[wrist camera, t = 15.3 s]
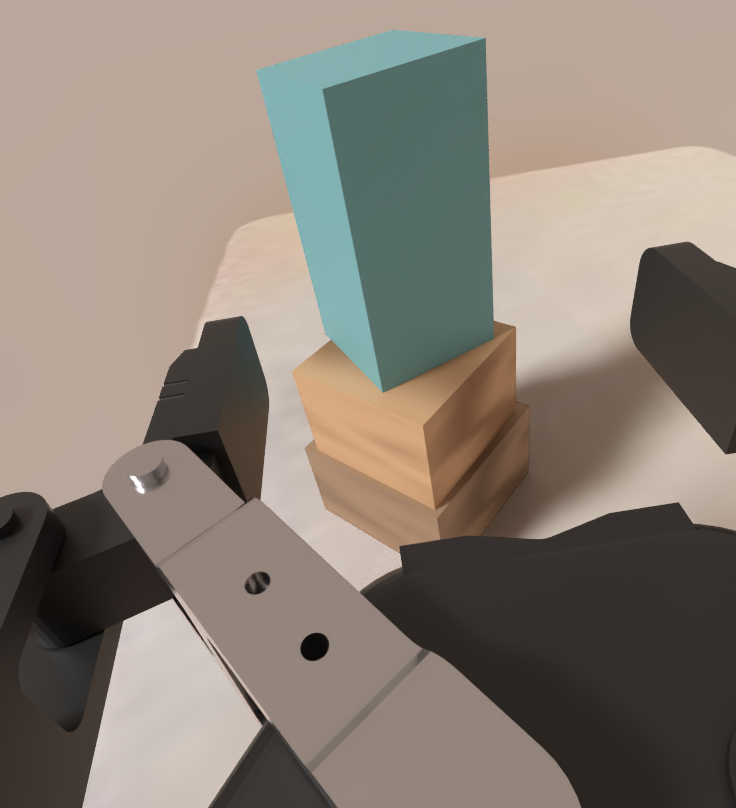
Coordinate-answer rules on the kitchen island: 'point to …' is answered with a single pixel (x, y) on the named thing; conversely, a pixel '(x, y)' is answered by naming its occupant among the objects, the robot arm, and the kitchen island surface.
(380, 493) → the walnut base block
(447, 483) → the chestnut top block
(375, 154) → the teal pillar
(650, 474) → the kitchen island surface
